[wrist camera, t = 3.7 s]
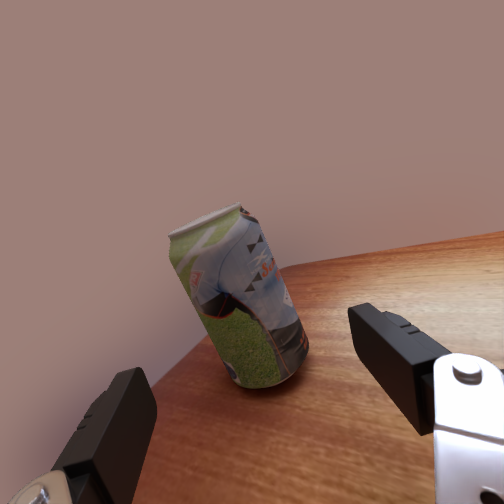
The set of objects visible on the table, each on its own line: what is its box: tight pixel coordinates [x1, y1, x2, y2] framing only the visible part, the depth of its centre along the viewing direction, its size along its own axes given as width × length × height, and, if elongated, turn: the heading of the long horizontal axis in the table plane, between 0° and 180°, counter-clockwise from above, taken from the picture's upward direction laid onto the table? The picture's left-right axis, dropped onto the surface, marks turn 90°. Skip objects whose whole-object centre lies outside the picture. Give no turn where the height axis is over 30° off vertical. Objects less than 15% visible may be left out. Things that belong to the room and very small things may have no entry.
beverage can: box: [168, 202, 309, 389], centre depth 18 cm, size 6×7×12 cm
